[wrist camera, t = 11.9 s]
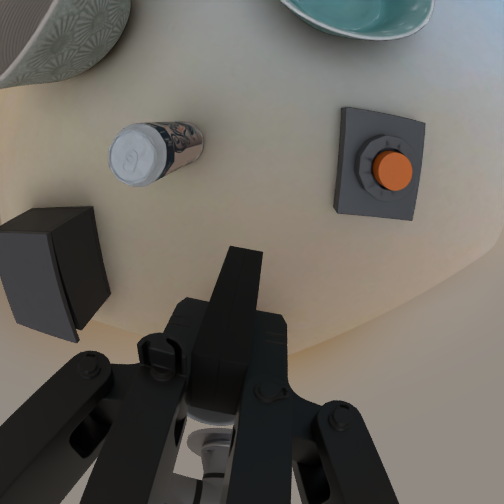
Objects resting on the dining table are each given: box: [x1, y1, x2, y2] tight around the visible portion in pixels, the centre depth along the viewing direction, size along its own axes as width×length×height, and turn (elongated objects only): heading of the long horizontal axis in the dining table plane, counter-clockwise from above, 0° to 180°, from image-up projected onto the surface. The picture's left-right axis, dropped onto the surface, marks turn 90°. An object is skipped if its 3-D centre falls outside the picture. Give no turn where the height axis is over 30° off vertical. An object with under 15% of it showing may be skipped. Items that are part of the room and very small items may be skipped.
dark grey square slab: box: [0, 231, 80, 343], centre depth 27 cm, size 14×14×1 cm
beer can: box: [109, 122, 203, 187], centre depth 23 cm, size 5×5×12 cm
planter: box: [0, 0, 130, 89], centre depth 15 cm, size 17×17×15 cm
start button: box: [373, 151, 412, 191], centre depth 23 cm, size 4×4×2 cm
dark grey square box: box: [0, 206, 111, 330], centre depth 32 cm, size 14×14×9 cm
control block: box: [334, 107, 425, 221], centre depth 25 cm, size 11×9×4 cm
